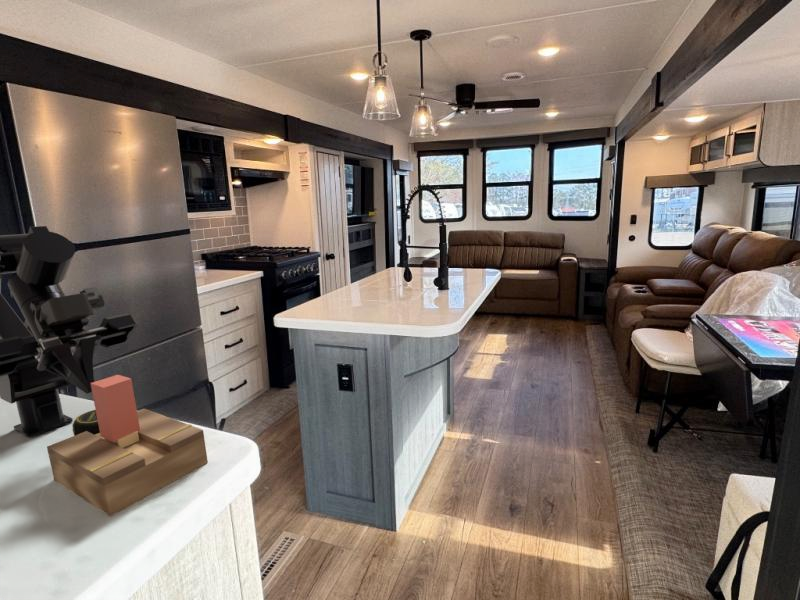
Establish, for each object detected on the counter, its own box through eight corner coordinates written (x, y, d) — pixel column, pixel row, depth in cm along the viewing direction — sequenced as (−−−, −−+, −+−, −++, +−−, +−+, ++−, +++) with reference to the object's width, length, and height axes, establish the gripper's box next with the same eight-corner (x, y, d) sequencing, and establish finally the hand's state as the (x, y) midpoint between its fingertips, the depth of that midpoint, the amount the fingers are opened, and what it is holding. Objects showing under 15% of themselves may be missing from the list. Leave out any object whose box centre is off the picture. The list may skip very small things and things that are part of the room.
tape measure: (119, 442, 71) (115, 420, 70) (68, 450, 69) (63, 428, 68) (129, 423, 78) (126, 403, 77) (83, 430, 76) (79, 409, 75)
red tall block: (101, 443, 62) (89, 382, 60) (127, 432, 65) (117, 374, 63) (116, 451, 60) (104, 388, 58) (142, 439, 63) (132, 379, 61)
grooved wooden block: (54, 480, 61) (46, 445, 60) (149, 437, 72) (144, 407, 71) (110, 516, 53) (102, 477, 52) (207, 462, 64) (203, 429, 63)
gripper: (-32, 282, 56) (21, 388, 53) (124, 263, 71) (172, 344, 68) (-42, 330, 62) (6, 428, 59) (105, 303, 77) (148, 379, 74)
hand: (90, 391), depth 65 cm, fingers closed
